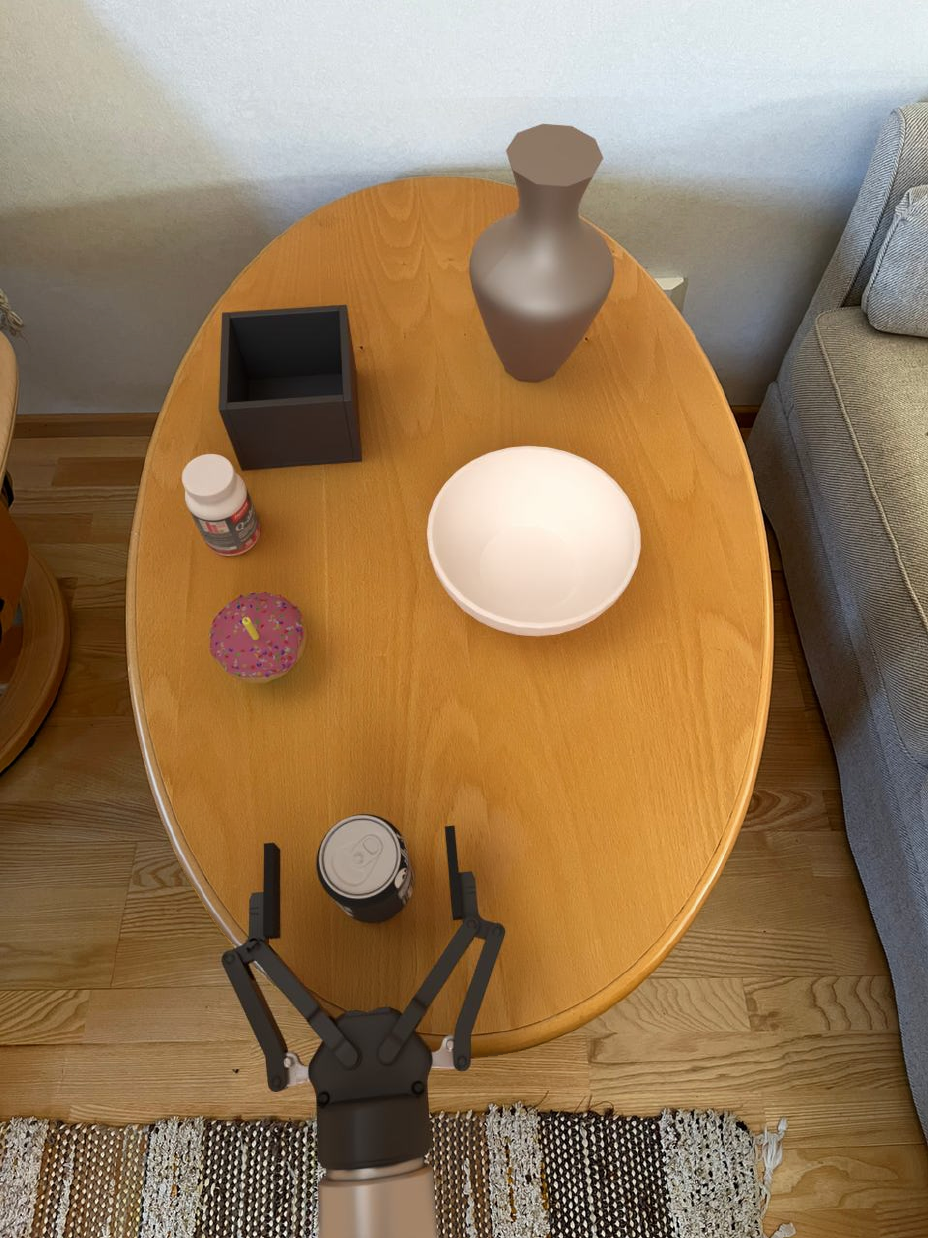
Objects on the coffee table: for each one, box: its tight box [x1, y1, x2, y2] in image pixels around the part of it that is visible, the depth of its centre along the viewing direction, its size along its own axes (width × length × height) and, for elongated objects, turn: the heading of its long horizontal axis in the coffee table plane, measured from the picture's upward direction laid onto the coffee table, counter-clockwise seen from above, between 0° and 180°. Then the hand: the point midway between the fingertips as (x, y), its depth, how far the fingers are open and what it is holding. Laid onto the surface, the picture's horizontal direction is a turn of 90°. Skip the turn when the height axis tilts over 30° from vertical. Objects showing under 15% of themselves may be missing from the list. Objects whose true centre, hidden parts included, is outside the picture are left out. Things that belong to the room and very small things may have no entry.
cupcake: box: [208, 591, 308, 684], centre depth 73 cm, size 9×8×12 cm
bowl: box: [426, 445, 642, 637], centre depth 80 cm, size 20×20×7 cm
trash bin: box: [218, 304, 363, 471], centre depth 87 cm, size 13×13×10 cm
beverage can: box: [315, 813, 415, 924], centre depth 64 cm, size 7×7×12 cm
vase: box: [468, 123, 615, 383], centre depth 84 cm, size 14×14×25 cm
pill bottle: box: [181, 453, 261, 557], centre depth 80 cm, size 6×6×10 cm
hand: (361, 837), depth 64 cm, fingers open, 13 cm apart
